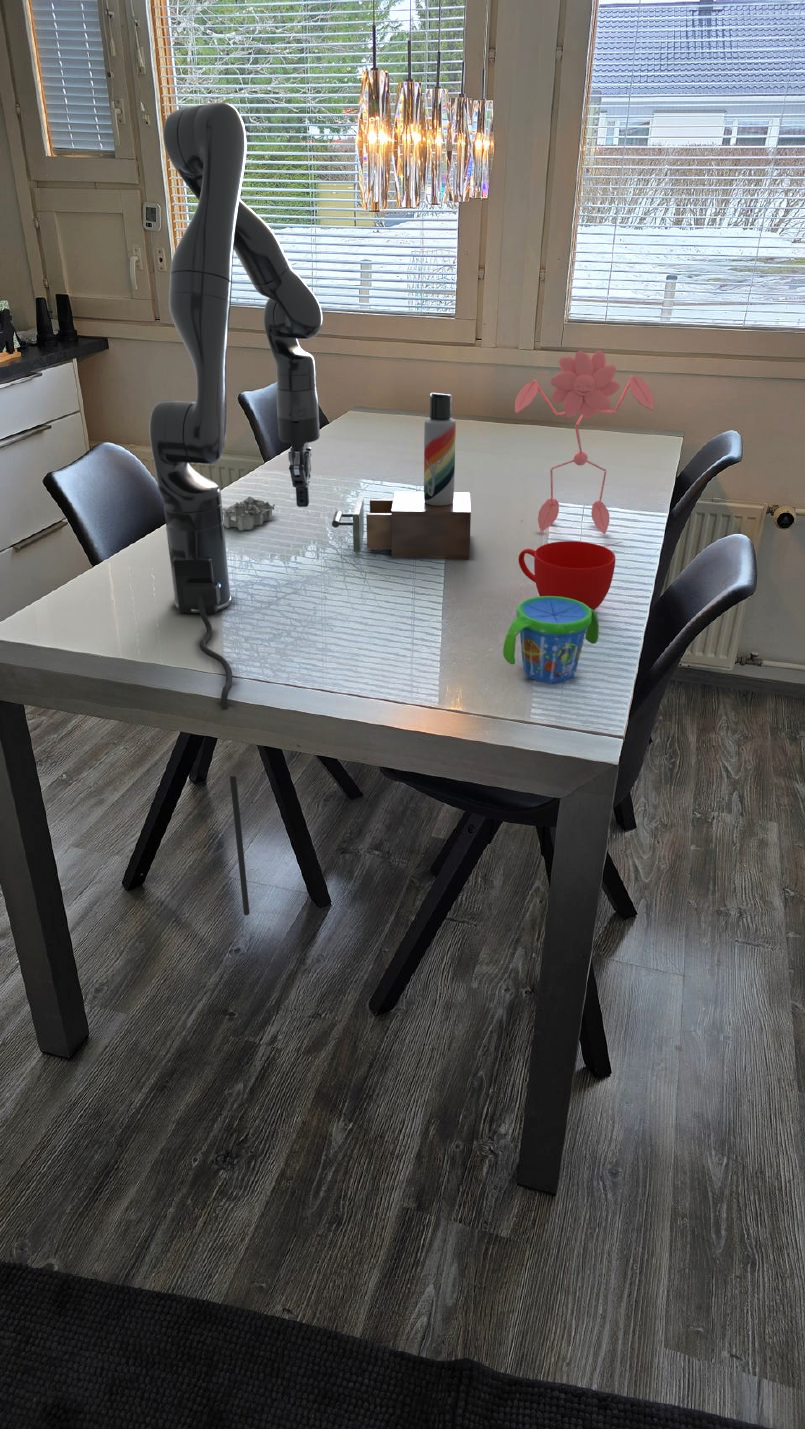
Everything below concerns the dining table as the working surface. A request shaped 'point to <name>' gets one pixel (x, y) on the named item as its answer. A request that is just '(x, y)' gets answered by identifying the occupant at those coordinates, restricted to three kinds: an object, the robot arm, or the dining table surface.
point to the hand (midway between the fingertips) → (303, 505)
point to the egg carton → (247, 514)
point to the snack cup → (551, 636)
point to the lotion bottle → (439, 452)
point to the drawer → (369, 523)
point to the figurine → (583, 413)
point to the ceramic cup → (571, 571)
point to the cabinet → (430, 527)
